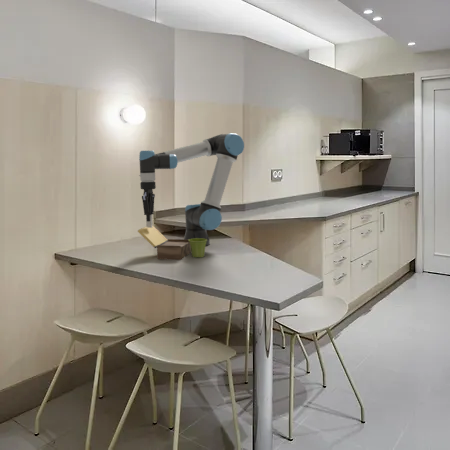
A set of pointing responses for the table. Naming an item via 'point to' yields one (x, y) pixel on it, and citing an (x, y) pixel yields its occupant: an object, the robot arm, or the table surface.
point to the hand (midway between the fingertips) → (149, 227)
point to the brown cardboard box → (174, 249)
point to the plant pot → (197, 247)
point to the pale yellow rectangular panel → (153, 236)
